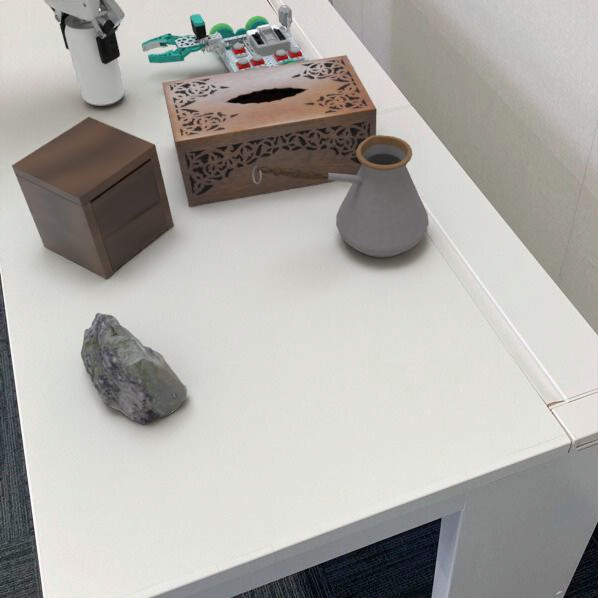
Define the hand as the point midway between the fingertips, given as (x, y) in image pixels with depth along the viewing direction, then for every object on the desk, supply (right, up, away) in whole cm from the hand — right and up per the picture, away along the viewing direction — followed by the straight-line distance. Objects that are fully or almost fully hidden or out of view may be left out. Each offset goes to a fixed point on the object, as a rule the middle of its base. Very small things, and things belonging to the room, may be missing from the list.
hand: (93, 52), depth 114 cm
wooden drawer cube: (+7, -29, -15) cm, 34 cm away
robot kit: (+19, +1, +11) cm, 22 cm away
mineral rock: (+15, -47, -31) cm, 58 cm away
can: (0, -5, +5) cm, 7 cm away
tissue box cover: (+27, -17, -5) cm, 32 cm away
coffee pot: (+37, -31, -17) cm, 52 cm away
